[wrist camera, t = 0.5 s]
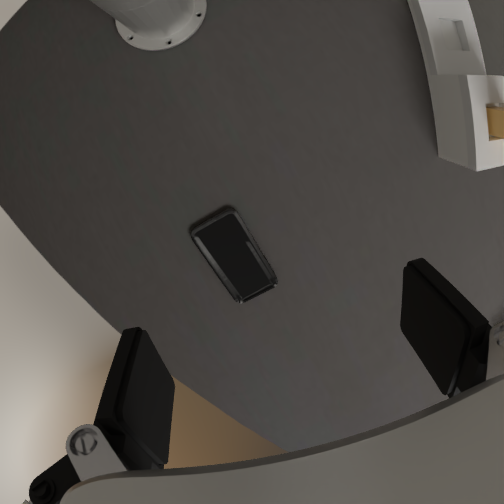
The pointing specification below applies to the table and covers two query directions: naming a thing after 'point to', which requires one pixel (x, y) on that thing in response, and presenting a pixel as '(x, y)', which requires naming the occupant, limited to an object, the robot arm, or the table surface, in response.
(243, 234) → the phone
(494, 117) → the plug
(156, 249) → the table surface
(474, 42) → the white stepped socket block
